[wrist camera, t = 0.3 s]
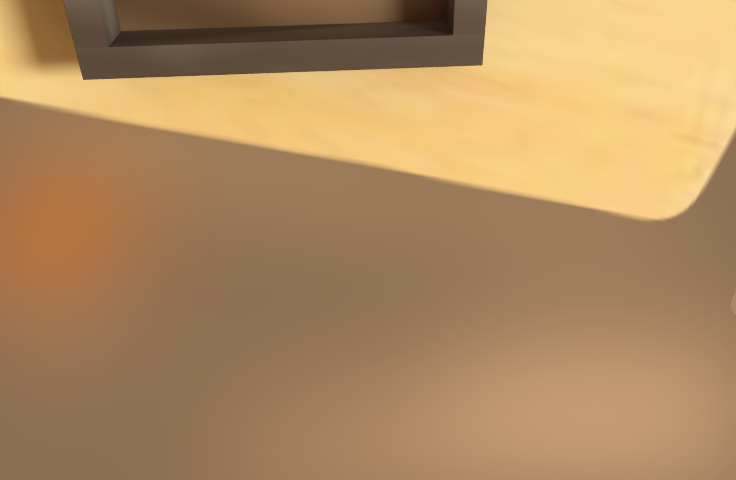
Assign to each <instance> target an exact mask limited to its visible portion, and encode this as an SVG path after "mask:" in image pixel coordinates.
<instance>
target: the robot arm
mask: <svg viewBox="0 0 736 480" xmlns="http://www.w3.org/2000/svg"><path fill="white" fill-rule="evenodd" d="M730 309H731V310H732V311H733V312H734V313H735V315H736V289H735V293H734V297H733V301H732V305H731V308H730ZM0 438H1V437H0Z"/></svg>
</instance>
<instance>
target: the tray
mask: <svg viewBox="0 0 736 480" xmlns="http://www.w3.org/2000/svg"><path fill="white" fill-rule="evenodd" d="M63 1H64V5H65V9H66V13H67V17H68V21H69V25H70V29H71V33H72V37H73V41H74V45H75V49H76V53H77V57H78V61H79V65H80V69H81V73H82V77H83V80H89V79H116V78H144V77H172V76H199V75H227V74H254V73H282V72H310V71H337V70H365V69H393V68H420V67H448V66H476V65H482V62H483V49H484V36H485V24H486V11H487V0H63Z"/></svg>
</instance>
